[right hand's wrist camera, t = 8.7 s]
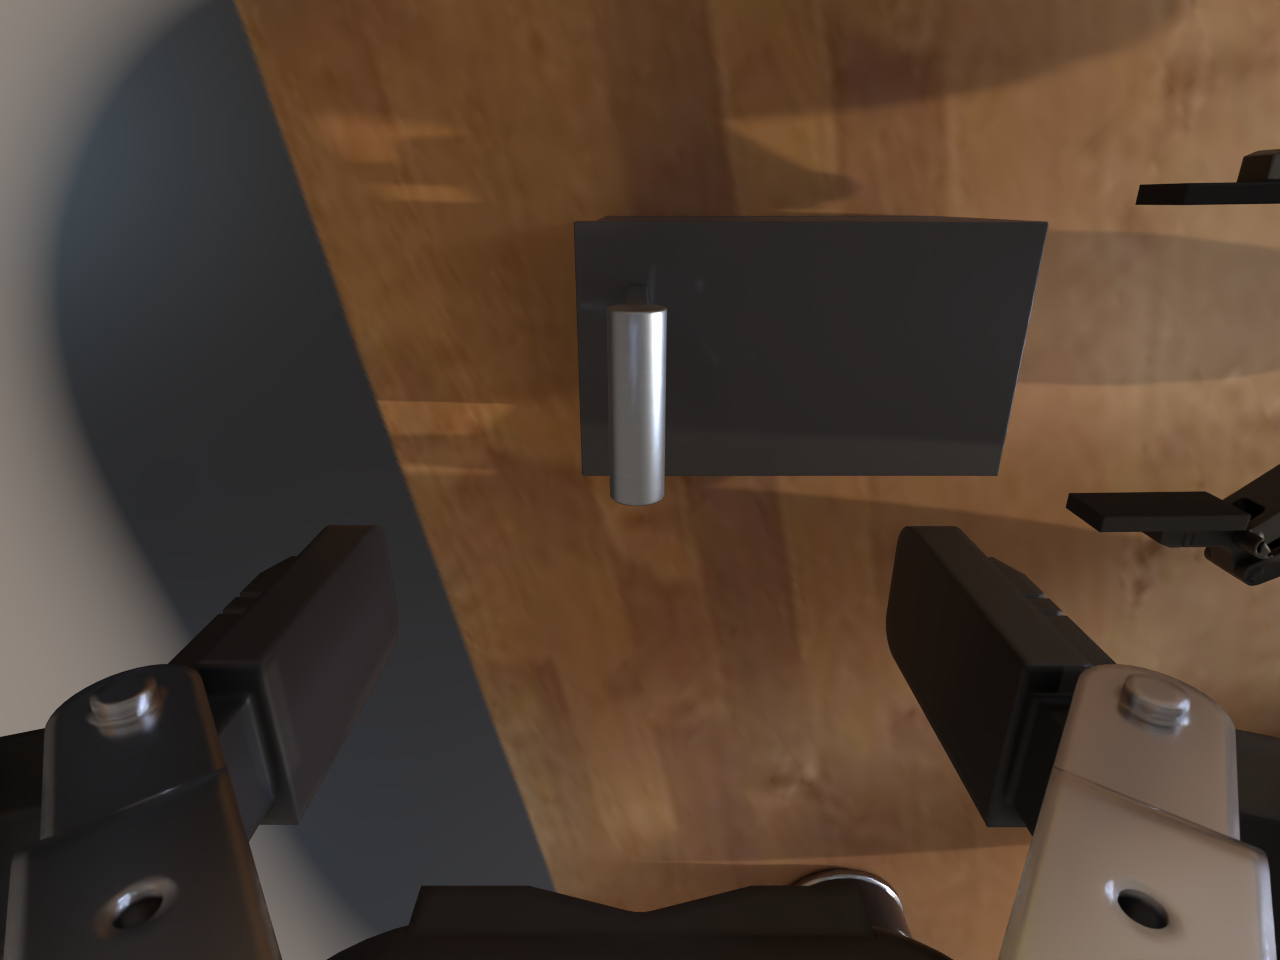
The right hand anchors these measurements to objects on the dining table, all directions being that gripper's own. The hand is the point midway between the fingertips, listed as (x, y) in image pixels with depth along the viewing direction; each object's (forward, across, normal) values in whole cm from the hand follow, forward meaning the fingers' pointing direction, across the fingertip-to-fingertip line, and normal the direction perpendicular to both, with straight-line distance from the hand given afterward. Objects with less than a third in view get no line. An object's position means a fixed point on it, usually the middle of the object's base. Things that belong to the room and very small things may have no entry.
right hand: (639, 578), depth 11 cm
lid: (+18, -6, 0) cm, 19 cm away
